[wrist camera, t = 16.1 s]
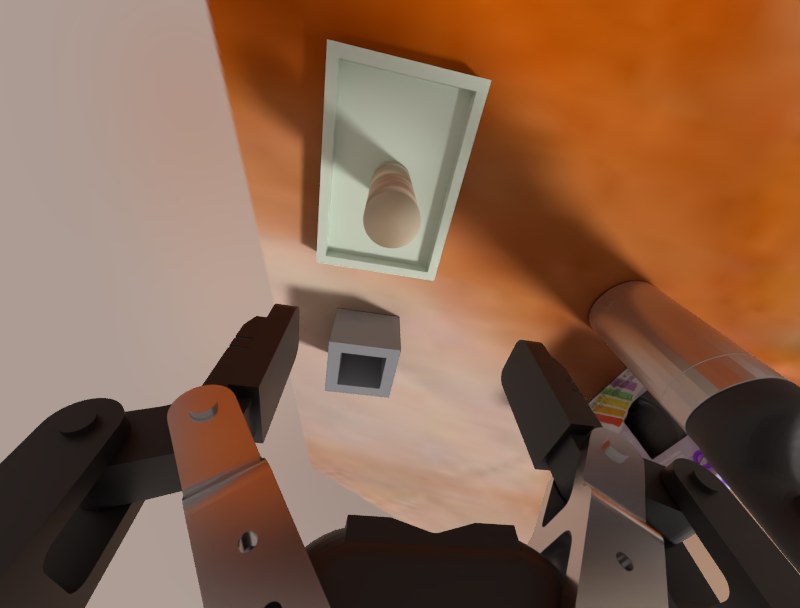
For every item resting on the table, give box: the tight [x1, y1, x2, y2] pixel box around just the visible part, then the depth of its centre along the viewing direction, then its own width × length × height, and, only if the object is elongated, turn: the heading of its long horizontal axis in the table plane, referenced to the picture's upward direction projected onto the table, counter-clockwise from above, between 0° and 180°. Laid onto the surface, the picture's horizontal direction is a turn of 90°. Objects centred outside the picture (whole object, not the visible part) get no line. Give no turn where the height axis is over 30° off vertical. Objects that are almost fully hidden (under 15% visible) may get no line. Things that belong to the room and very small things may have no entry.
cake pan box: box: [588, 368, 731, 490], centre depth 47 cm, size 19×5×18 cm, turn 156°
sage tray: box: [316, 39, 491, 281], centre depth 32 cm, size 14×20×2 cm
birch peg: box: [363, 161, 421, 248], centre depth 27 cm, size 4×4×13 cm
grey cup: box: [325, 308, 401, 398], centre depth 42 cm, size 9×9×7 cm
